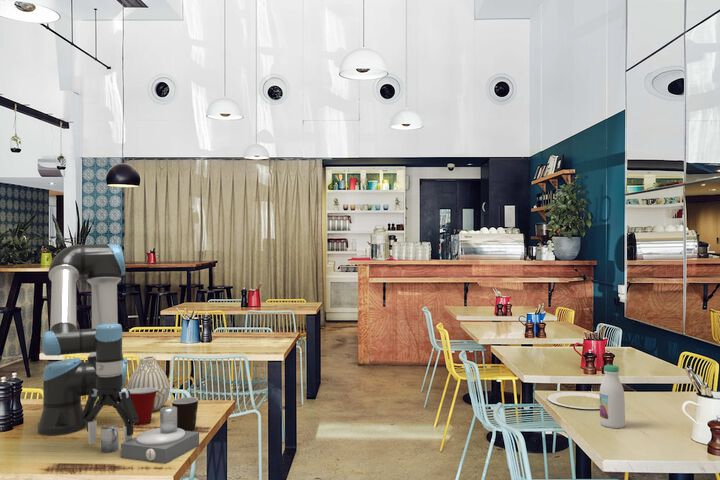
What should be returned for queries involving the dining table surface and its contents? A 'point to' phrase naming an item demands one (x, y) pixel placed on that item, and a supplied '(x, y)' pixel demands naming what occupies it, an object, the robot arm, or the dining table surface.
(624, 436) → the dining table surface
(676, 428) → the dining table surface
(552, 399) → the plate
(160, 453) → the scale
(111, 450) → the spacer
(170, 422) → the cylinder
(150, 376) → the vase
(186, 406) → the coffee mug
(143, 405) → the plastic cup
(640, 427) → the dining table surface
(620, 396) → the milk bottle
